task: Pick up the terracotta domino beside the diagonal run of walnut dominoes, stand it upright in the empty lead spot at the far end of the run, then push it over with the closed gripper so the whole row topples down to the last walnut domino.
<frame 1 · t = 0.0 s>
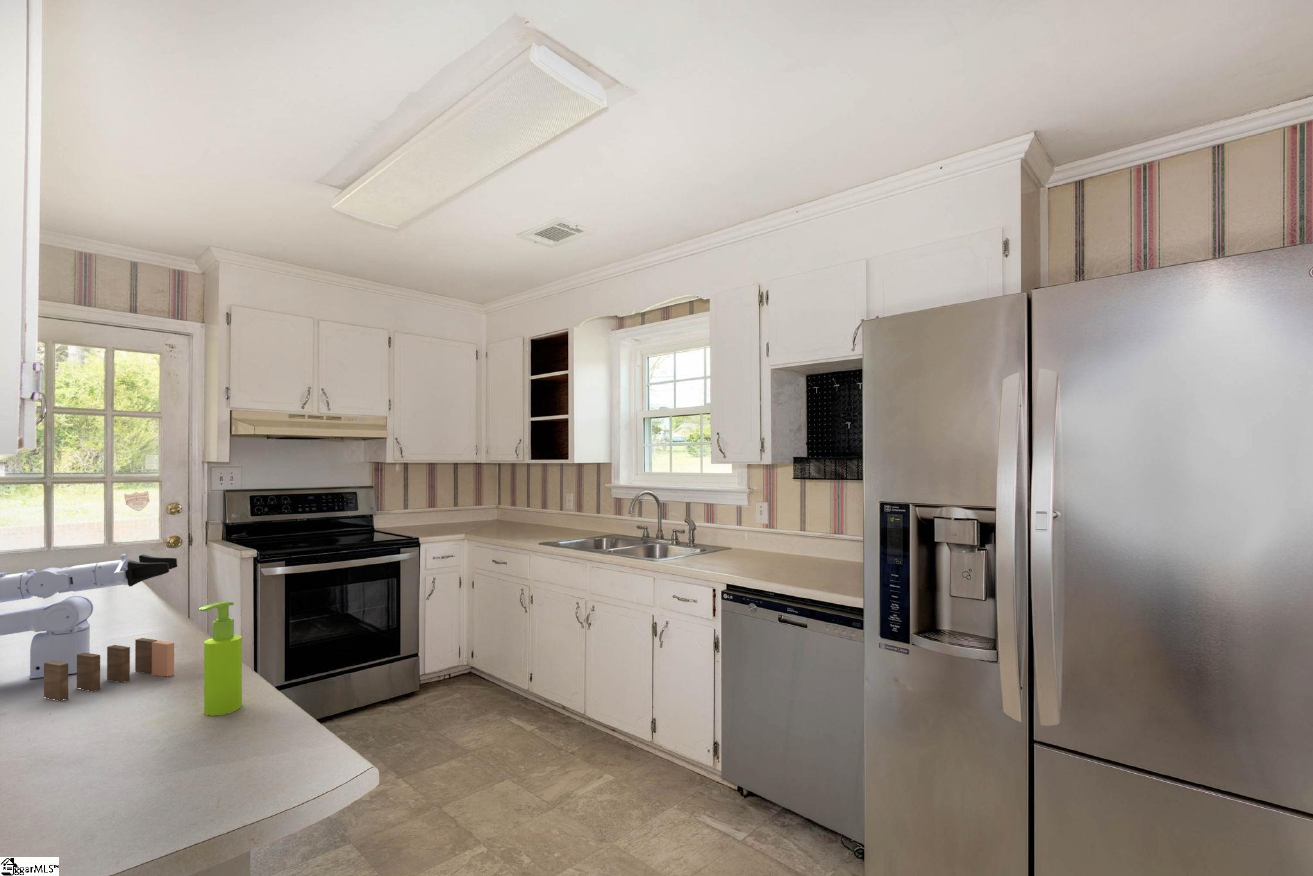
hand: (172, 565, 155), 22 cm above the countertop, tool horizontal, fingers open, 7 cm apart
tile 3: (118, 680, 140), on the countertop
tile 4: (88, 689, 135), on the countertop
tile 2: (146, 671, 145), on the countertop
lead tile: (162, 674, 143), on the countertop
end tile: (55, 698, 130), on the countertop
soap dispenser: (220, 711, 123), on the countertop
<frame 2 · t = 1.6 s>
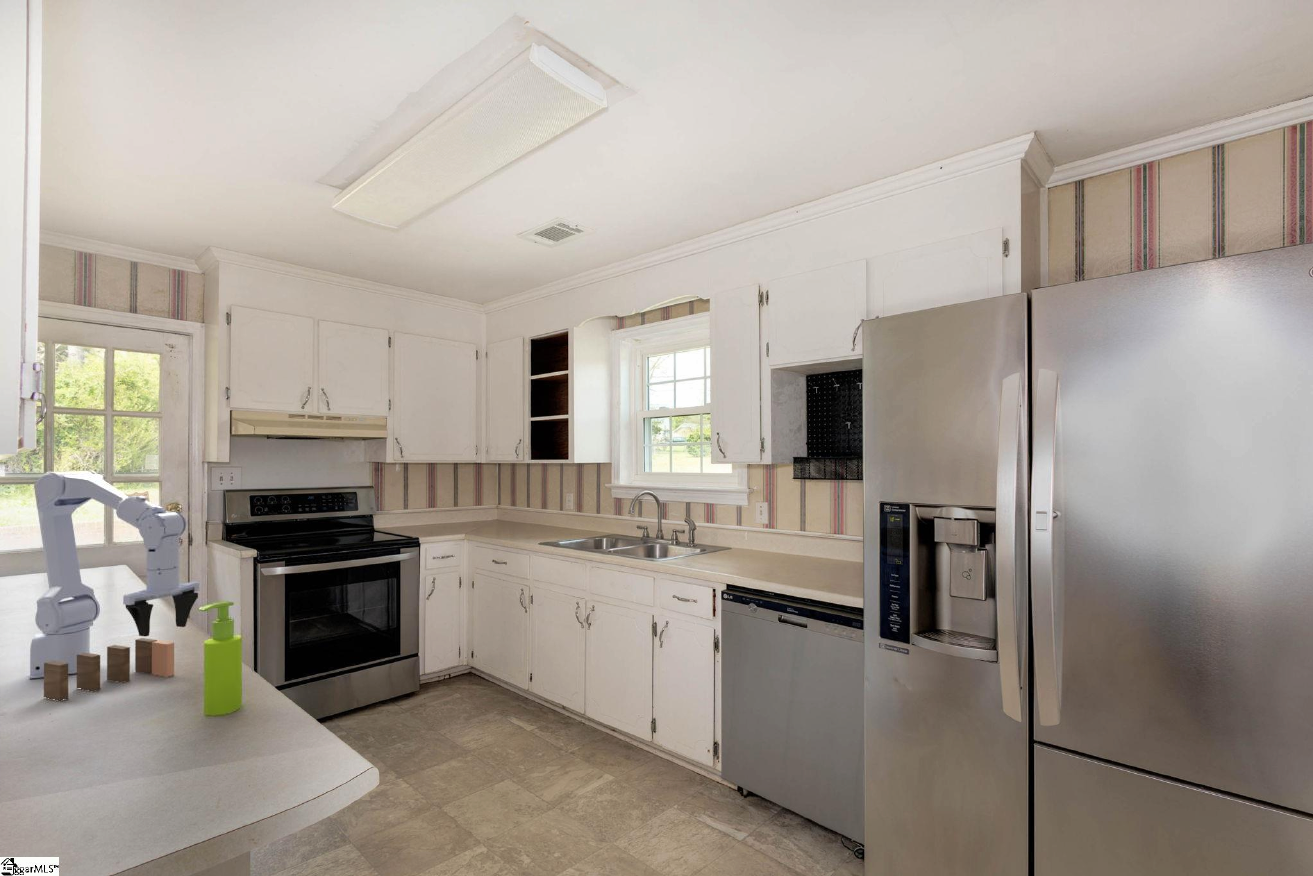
hand: (163, 631, 143), 9 cm above the countertop, tool pointing down, fingers open, 7 cm apart
nothing on the countertop moved.
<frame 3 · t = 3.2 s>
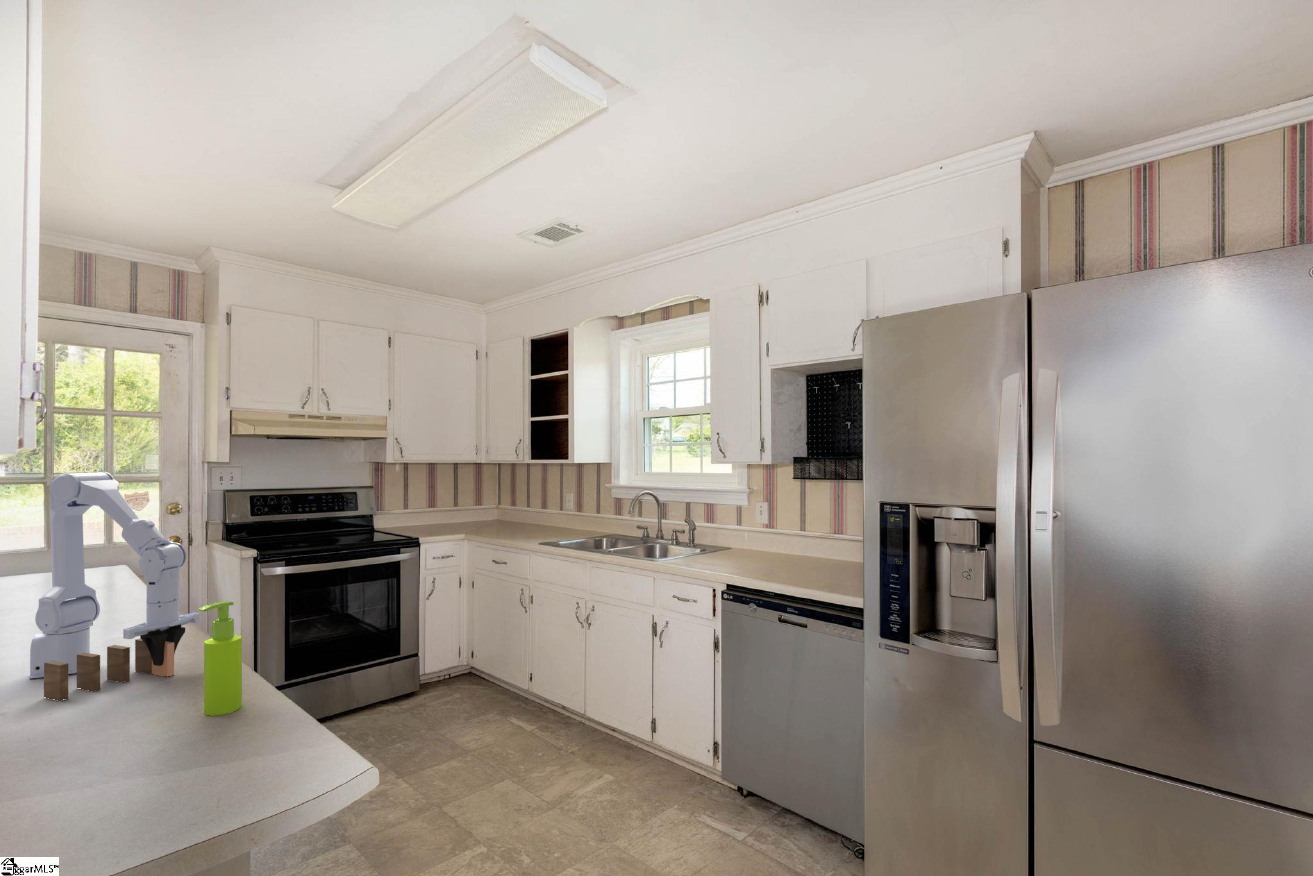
hand: (162, 663, 143), 2 cm above the countertop, tool pointing down, fingers closed on lead tile, 1 cm apart
lead tile: (162, 674, 143), on the countertop, touching gripper
everything else where it was.
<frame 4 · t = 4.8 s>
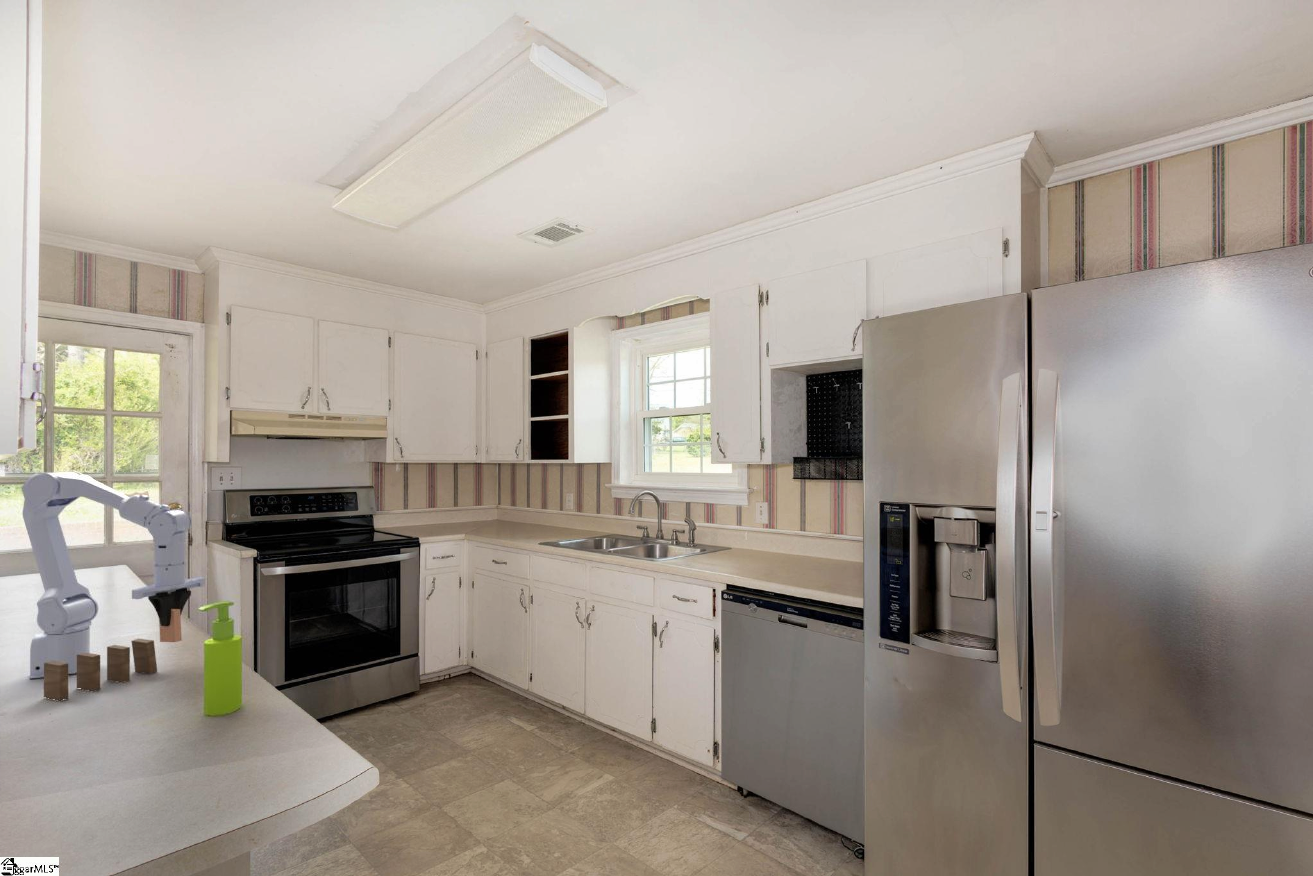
hand: (169, 624, 148), 9 cm above the countertop, tool pointing down, fingers closed on lead tile
tile 2: (146, 671, 145), on the countertop, tilted 6°
lead tile: (170, 641, 148), point 6 cm above the countertop, touching gripper
everything else where it was.
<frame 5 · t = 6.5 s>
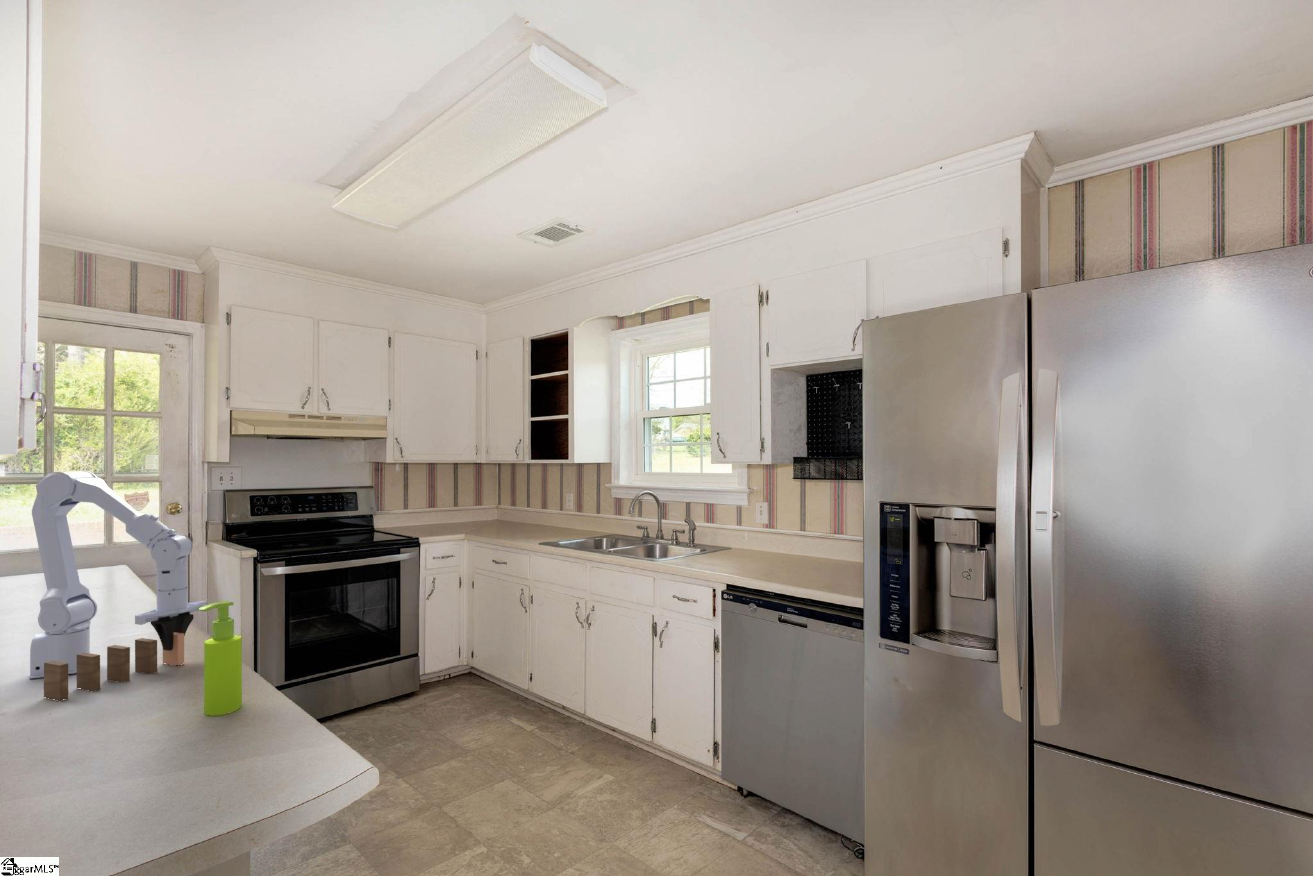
hand: (172, 648, 150), 3 cm above the countertop, tool pointing down, fingers closed on lead tile, 1 cm apart
tile 2: (146, 671, 145), on the countertop
lead tile: (173, 664, 150), on the countertop, touching gripper
everything else where it was.
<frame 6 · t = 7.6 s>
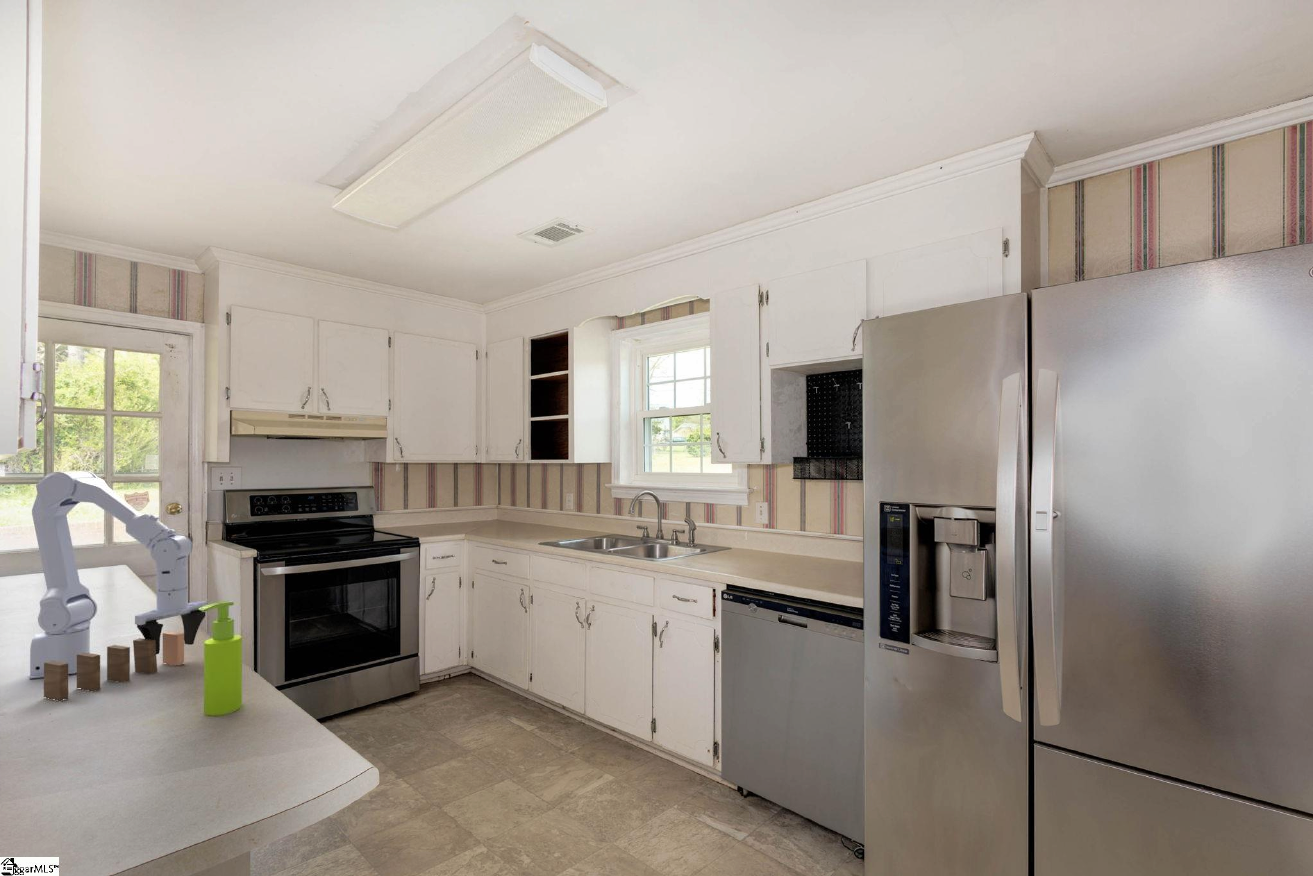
hand: (172, 648, 150), 3 cm above the countertop, tool pointing down, fingers open, 7 cm apart
lead tile: (173, 664, 150), on the countertop
everything else where it was.
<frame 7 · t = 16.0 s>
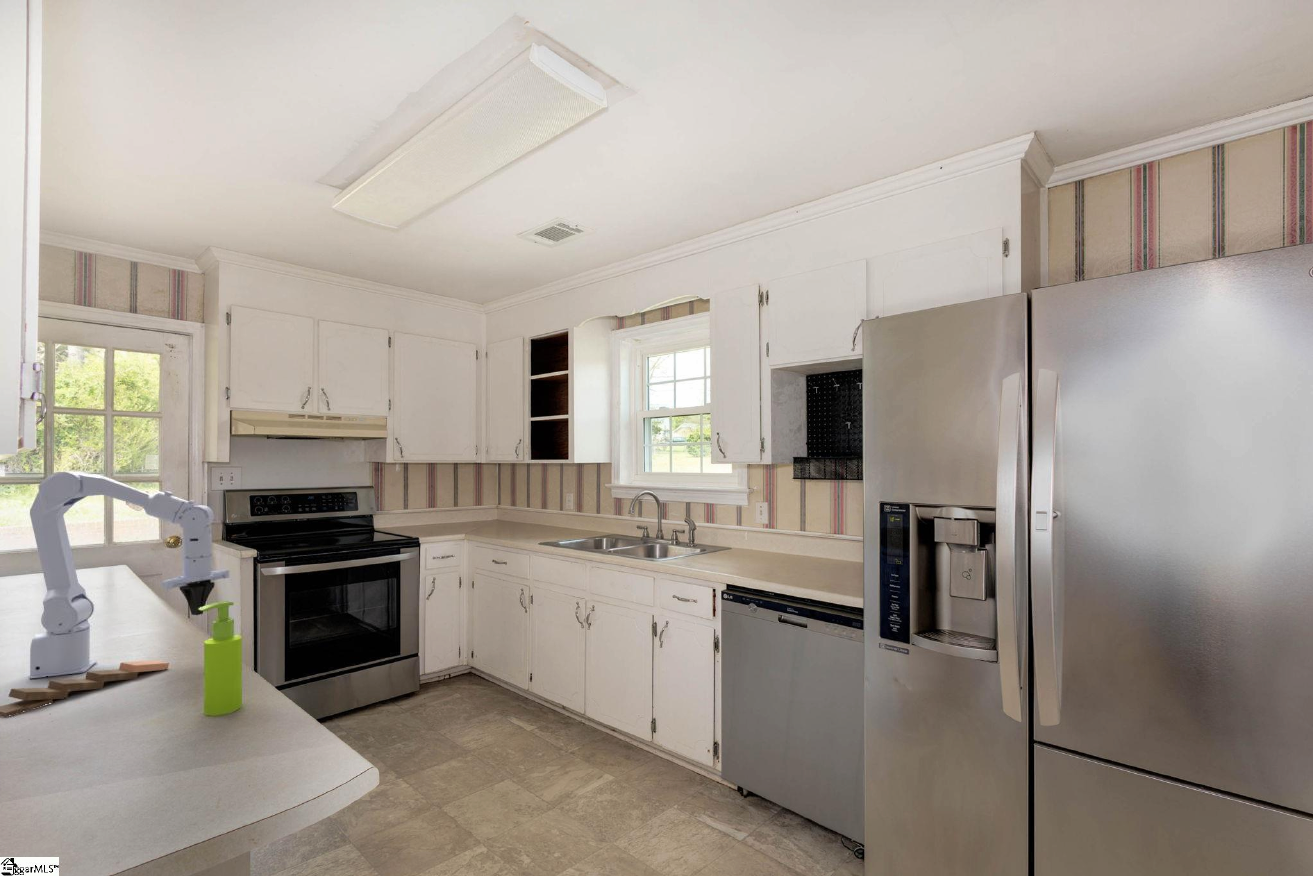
hand: (197, 614, 156), 10 cm above the countertop, tool pointing down, fingers closed
tile 3: (96, 683, 136), point 1 cm above the countertop, tilted 75°, touching tile 2, tile 4
tile 4: (60, 693, 131), point 1 cm above the countertop, tilted 73°, touching end tile, tile 3
tile 2: (130, 673, 142), point 1 cm above the countertop, tilted 77°, touching lead tile, tile 3
lead tile: (161, 664, 148), point 1 cm above the countertop, tilted 77°, touching tile 2
end tile: (45, 701, 128), on the countertop, tilted 90°, touching tile 4
everything else where it was.
at the end: end tile tilted 90°; tile 3 tilted 75°; the gripper is holding nothing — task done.
